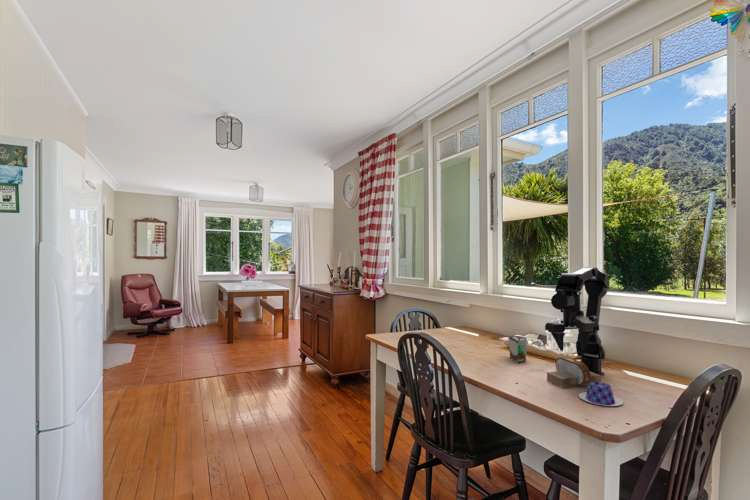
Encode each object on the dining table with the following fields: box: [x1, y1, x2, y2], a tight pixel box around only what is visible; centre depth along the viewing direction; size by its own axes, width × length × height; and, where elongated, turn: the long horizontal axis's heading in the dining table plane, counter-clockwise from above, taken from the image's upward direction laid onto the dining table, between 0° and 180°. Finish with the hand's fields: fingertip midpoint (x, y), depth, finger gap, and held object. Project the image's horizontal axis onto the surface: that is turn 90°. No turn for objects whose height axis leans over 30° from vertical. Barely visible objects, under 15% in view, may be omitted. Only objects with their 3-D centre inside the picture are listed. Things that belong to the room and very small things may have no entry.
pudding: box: [578, 381, 624, 407], centre depth 117 cm, size 12×12×5 cm
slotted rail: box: [546, 370, 602, 388], centre depth 134 cm, size 16×8×3 cm, turn 102°
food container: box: [508, 334, 529, 364], centre depth 164 cm, size 12×6×10 cm, turn 179°
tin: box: [555, 355, 591, 387], centre depth 134 cm, size 15×3×8 cm, turn 12°
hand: (572, 350), depth 134 cm, fingers open, 9 cm apart
